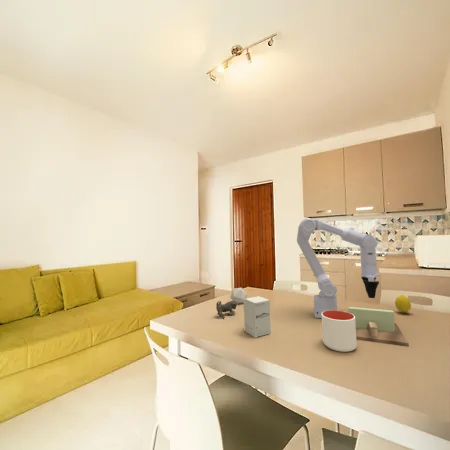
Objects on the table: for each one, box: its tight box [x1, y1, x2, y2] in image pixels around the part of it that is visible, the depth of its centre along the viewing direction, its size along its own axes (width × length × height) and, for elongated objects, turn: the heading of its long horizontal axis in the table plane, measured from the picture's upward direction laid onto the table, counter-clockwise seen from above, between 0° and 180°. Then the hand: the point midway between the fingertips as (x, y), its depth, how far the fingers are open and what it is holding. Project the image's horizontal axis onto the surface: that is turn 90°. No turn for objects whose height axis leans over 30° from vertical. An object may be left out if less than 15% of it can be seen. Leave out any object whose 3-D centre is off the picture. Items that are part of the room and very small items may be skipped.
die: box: [229, 287, 248, 305], centre depth 130 cm, size 8×9×10 cm
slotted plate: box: [348, 306, 395, 332], centre depth 88 cm, size 14×2×7 cm, turn 65°
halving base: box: [356, 322, 410, 347], centre depth 88 cm, size 18×18×4 cm
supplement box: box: [243, 295, 272, 338], centre depth 91 cm, size 7×7×13 cm
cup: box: [321, 309, 358, 353], centre depth 78 cm, size 10×10×10 cm
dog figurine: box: [215, 300, 238, 319], centre depth 111 cm, size 12×6×8 cm, turn 125°
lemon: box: [394, 294, 412, 314], centre depth 105 cm, size 6×6×8 cm
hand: (370, 295), depth 101 cm, fingers open, 7 cm apart
